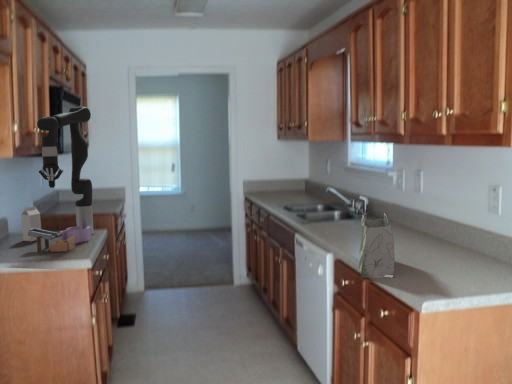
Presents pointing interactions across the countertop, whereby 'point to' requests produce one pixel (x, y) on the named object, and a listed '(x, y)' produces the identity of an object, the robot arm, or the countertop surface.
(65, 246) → the cup
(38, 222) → the milk carton
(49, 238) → the tipping track
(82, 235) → the clip
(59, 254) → the countertop surface
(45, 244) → the stand
